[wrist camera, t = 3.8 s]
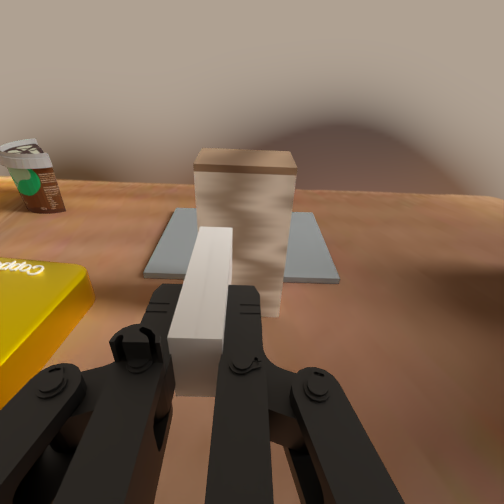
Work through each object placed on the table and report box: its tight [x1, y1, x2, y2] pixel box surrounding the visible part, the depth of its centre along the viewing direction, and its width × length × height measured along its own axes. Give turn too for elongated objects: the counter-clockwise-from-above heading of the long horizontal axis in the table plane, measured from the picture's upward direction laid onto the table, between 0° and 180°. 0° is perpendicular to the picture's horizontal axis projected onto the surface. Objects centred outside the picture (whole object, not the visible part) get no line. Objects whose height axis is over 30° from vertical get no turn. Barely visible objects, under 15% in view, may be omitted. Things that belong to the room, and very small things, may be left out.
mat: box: [143, 208, 340, 284], centre depth 44 cm, size 24×19×1 cm
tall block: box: [193, 148, 297, 317], centre depth 29 cm, size 8×5×16 cm, turn 90°
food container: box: [0, 139, 66, 213], centre depth 49 cm, size 12×6×10 cm, turn 39°
